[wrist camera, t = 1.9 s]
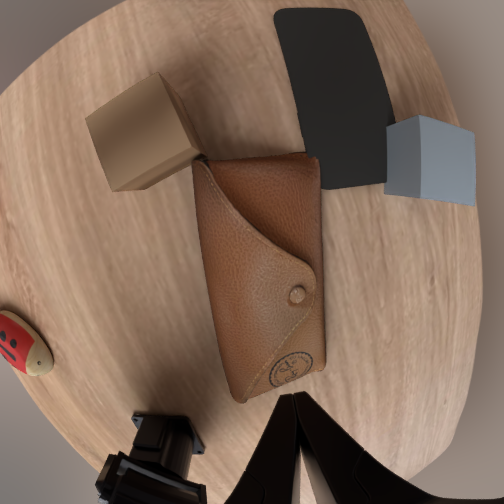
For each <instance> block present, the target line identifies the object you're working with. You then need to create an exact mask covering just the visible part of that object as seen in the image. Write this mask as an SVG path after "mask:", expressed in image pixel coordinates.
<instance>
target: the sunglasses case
mask: <svg viewBox="0 0 504 504" xmlns="http://www.w3.org/2000/svg"><path fill="white" fill-rule="evenodd" d="M191 166H192V173H193V184H194V195H195V205H196V216H197V222H198V231H199V238H200V245H201V252H202V258H203V264H204V270H205V276H206V281H207V288H208V294H209V299H210V304H211V310H212V315H213V320H214V326H215V330H216V336H217V341H218V345H219V351H220V354H221V359H222V363H223V367H224V370H225V375H226V378H227V381H228V384H229V388H230V393H231V395H232V397H233V399H234V400H235V401H237V402H238V403H242V404H244V403H245V402H246V401H247V400H248V399H249V398H252V397H255V396H258V395H260V394H263V393H265V392H267V391H270V390H272V389H275V388H277V387H280V386H282V385H284V384H286V383H289V382H291V381H294V380H296V379H298V378H300V377H302V376H304V375H306V374H309V373H311V372H315V371H322V370H323V369H324V368H325V365H326V351H325V334H324V288H323V254H322V253H323V252H322V230H321V229H322V226H321V225H322V224H321V180H320V166H319V160H318V159H316V157H311V158H308V155H307V153H306V152H295V153H289V154H283V155H279V156H276V155H275V156H272V155H271V156H268V157H254V158H242V159H233V160H220V161H218V160H216V161H212V160H203V161H202V160H193V161H192V162H191Z"/></svg>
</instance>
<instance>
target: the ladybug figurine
mask: <svg viewBox="0 0 504 504" xmlns="http://www.w3.org/2000/svg"><path fill="white" fill-rule="evenodd" d="M0 353H1V354H2V355H3V356H4V358H5V359H6V360H7V361H8V362H9V363H11V364H12V365H13V366H14V367H15V368H17V369H18V370H20V371H22V372H23V373H26V374H28V375H32V376H41V375H45V374H47V373H49V372H50V371H51V370H52V369H53V359H52V356H51V353H50V351H49V349H48V348H47V346H46V345H45V343H44V342H43V340H42V339H41V338H40V336H39V335H38V334H37V333H36V332H35V330H34V329H33V328H32V327H30V326H29V325H28V324H27V323H26V322H25V321H24V320H23V319H21V318H20V317H19V316H17V315H16V314H14V313H12V312H10V311H5V310H3V311H0Z"/></svg>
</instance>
